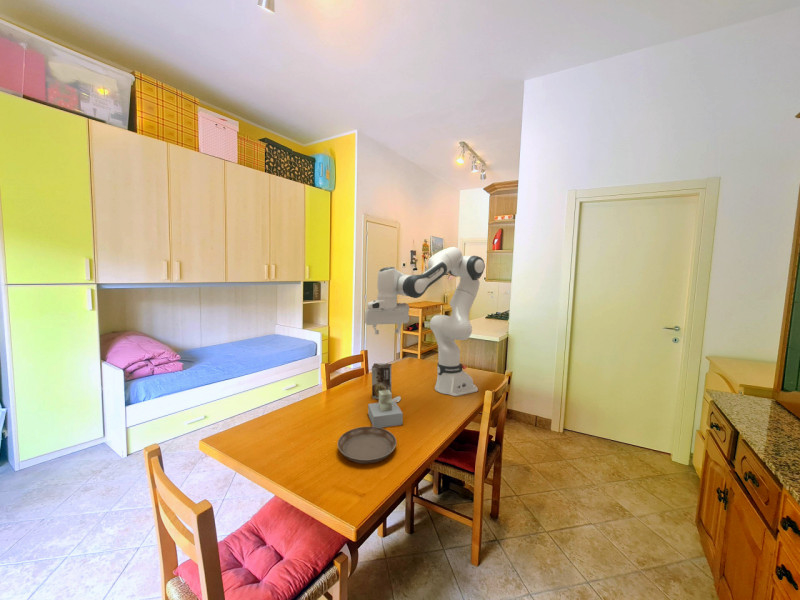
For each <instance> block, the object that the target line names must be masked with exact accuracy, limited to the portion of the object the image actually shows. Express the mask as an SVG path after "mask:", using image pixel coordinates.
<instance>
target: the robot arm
mask: <svg viewBox="0 0 800 600" xmlns="http://www.w3.org/2000/svg"><path fill="white" fill-rule="evenodd" d="M427 267H428V269H427V270H426V271H424V272H423V273H421V274H405V273H402V272H401V271H399V270H398V269H397V268H396V267H394V266H386V267H383V268H380V269H379V271H378V274H377V285H376V286H377V290H378V291H377V299H374V300H371V301H368V302H367V303H366V304H367V305H366V306H367V308H366V309H365V311H364V312H365V313H364V323H365V324H366V325H367V326H370V325H371V326H372V328H373V330H374V335H379V334H380V330H379V329H377V325H397V328H395V329H394V333H395V334H399V333H400V329H401V327H402V326H403V325H402V324H408V323H410V314H409V311H410V305H409V304H408V303H407V302H402V303H401V302H398V295H399V296H405V297H410V298H413V299H418V298H420V297H422V296H423V295H424V294H425V293H426V291H427V290H428V288H429V287H431V286H432V285H433V284H435V283H436V282H437V281H439V280H440V279H441V278H443V277H444V276H445V275H446V274H447V273H448V274H449V275H450V276H453V277H459V283H458V285H457V286H456V289H455V290H454V293H453V295H452V297H451V299H450V300H449V301H450V302H449V306H450V307H451V309H452V310H451V311H452V312H451V315H450V316H449V315H446V314H436V315H434V316H433V317H432V318H431V319H430V321H429V328H430V331H431V332H432V333H433V335H434V337H435V340H436V343H437V350H438V351H437V352H438V361H437V368H436V369H437V371H436V374H437V376H436V377H437V378H436V382H435V386H434V390H435V391H436V392H438V393H439V394H443V395H450V396H453V397H459V396H463V395H468V394H473V393H475V392H478V390H479V389H478V387H477V386H476V384H474V380H473V377H472V376H470V374H468V373H467V372H466V371H464V370H467V365H465V364H463V363H461V359H460V358H461V349H460V347H459V345H458V344H457V342H456V341H466V340H468V339H469V338H470V336H471V335H472V331H473V329H472V328H473V327H472V324H471V322H470V317H469V316H470V311H471V310H472V309H471V308H472V306H473V305H474V301H475V300H476V297H477V295H478V291H479V289H480V280H479V279H480V278H482V275H483V273H484V270H485V267H486V265H485V261H484V258H482V257H481V256H478V255H463V253H462V251H461V250H460V248H458V247H456V246H450V247H446V248H445V249H441V250H440V251H437V252H436V253H434V254H433V255H431V256H430V257H429V259H428V261H427Z"/></svg>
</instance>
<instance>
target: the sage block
mask: <svg viewBox="0 0 800 600" xmlns="http://www.w3.org/2000/svg"><path fill="white" fill-rule="evenodd" d="M392 399H393V394H391V392H390V390H383V391H379V399H378V403H379V408H380V410H381V411H389V410H392Z"/></svg>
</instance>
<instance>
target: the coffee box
mask: <svg viewBox="0 0 800 600" xmlns="http://www.w3.org/2000/svg"><path fill="white" fill-rule="evenodd" d="M383 390H390V392H391V394H392V363H373V365H372V366H371V393H372V395H371V397H372V399H373V400H379V391H383ZM392 395H393V394H392Z"/></svg>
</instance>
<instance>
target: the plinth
mask: <svg viewBox="0 0 800 600" xmlns="http://www.w3.org/2000/svg"><path fill="white" fill-rule="evenodd" d="M397 403H398V402H397V401H396V400H395V401H392V410H389V411H381V410H380V408H379V402H373V403H368V404H367V405H368V407H367V409H368V411H367V413H368V414H367V415H368V418H369V420H370V423H371V426H372V427H378V428H382V429H384V428H389V427H395V426H403V421H404V420H403V414H404V413H403V412H402V410H401V407H399V405H398V404H397Z"/></svg>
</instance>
